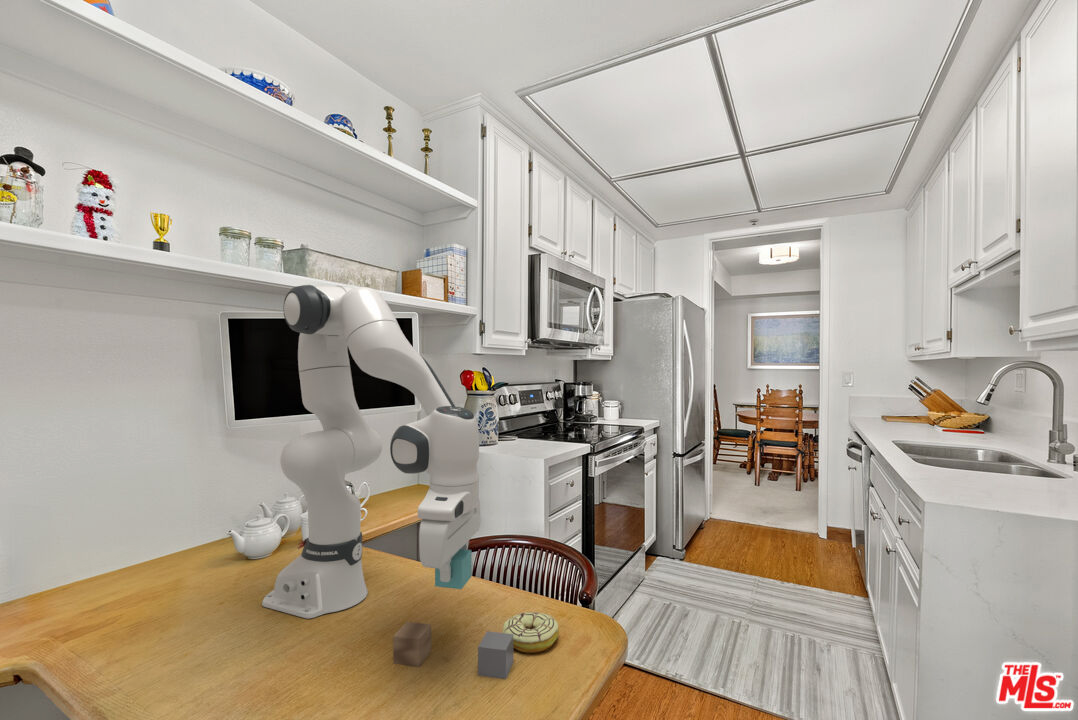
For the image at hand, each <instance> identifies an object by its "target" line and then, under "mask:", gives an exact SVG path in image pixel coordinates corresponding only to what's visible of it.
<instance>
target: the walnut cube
mask: <svg viewBox="0 0 1078 720" xmlns="http://www.w3.org/2000/svg"><path fill="white" fill-rule="evenodd" d="M392 640H393V643H392V645H393V646H392V647H393V649H392V650H393V651H392V653H393V659H392V660H393V662H392V664H394V665H402V666H408V667H416V668H420V667H421V665H422V664H423V663H424V661H425V660H426V659H427V657H428V656H429V654H430V653H431V652H432V624H428V623H420V622H413V621H406V622H405V623H404V624H403V625H402V626H401V627H400V628H399V629H398V630H397V631H396V633H395V634H394V635H393V637H392Z"/></svg>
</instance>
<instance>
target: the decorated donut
mask: <svg viewBox="0 0 1078 720" xmlns="http://www.w3.org/2000/svg"><path fill="white" fill-rule="evenodd" d="M502 625H503V626H502V633H507V634H513V649H515V650H516V651H518V652H521V653H527V654H528V653H530V654H531V653H541V652H544V651H546V650H548V649H549V648H551V647H553V645H554V643H555V642H556V640H557V639H558V637H559V632H560V631H559V622H558V621H557V620H556V619H555V617H553V616H551V615H549V614H547V613H542V612H537V611H535V612H534V611H532V612H531V611H528V612H520V613H519V614H515V615H513V616H512V617H509V618H508V619H507V620H506V621H505V622H504V624H502Z"/></svg>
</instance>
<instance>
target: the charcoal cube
mask: <svg viewBox="0 0 1078 720" xmlns="http://www.w3.org/2000/svg"><path fill="white" fill-rule="evenodd" d="M477 646H478V647H477V672H478V673H477V676H480V677H488V678H495V679H503V680H507V678H508V675H509V674H510V670H511V668H512V665H513V663H514V648H513V634H507V633H503V632H497V631H489V630H488V631H487V630H486V632H485V634H484V636H483V638H482V639H481V641H480V642H479V644H478V645H477Z"/></svg>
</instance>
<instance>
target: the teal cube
mask: <svg viewBox="0 0 1078 720" xmlns="http://www.w3.org/2000/svg"><path fill="white" fill-rule="evenodd" d="M450 567H451V569H453V574H452V575H453V577H452V579H451V580H450V581H449V582H442V581H441V580H440V571H439V569H437V568H434V587H437V588H438V587H439V588H446V589H454V590H455V589H456V590H463V588H464V587H465V586H466V584H467V583H468V582H469V581H470V579H471V578H472V549H467V550H465V549H460V550H459V551H458V552H457V553H456V554H455V555H454V556H453V557H452V558H451V562H450Z"/></svg>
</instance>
